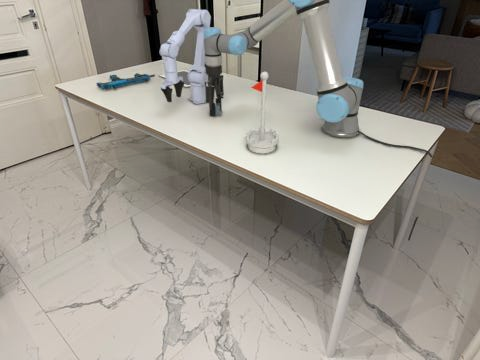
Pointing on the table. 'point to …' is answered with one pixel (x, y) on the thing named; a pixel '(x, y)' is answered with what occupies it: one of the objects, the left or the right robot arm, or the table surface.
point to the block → (217, 109)
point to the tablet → (182, 74)
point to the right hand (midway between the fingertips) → (215, 113)
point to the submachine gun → (124, 81)
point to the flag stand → (262, 125)
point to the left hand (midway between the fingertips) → (174, 99)
